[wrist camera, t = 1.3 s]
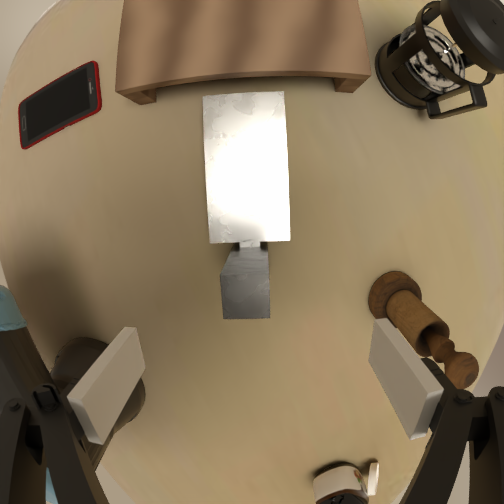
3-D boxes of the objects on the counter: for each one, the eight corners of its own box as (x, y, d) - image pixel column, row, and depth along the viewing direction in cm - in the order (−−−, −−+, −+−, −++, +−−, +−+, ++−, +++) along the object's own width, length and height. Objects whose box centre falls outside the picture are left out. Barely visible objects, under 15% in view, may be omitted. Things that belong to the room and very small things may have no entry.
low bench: (140, 105, 30) (115, 91, 24) (144, 22, 27) (124, -2, 21) (352, 92, 29) (371, 75, 22) (340, 8, 26) (352, -19, 20)
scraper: (217, 272, 34) (194, 319, 22) (208, 103, 30) (179, 65, 18) (288, 270, 34) (300, 316, 22) (282, 99, 29) (291, 57, 18)
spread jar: (305, 473, 43) (310, 523, 31) (358, 444, 41) (373, 496, 29) (339, 490, 44) (347, 533, 33) (386, 465, 42) (402, 509, 31)
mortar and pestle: (359, 289, 34) (428, 378, 17) (403, 261, 33) (496, 326, 16) (379, 329, 35) (442, 424, 18) (420, 303, 34) (501, 379, 17)
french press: (363, 36, 27) (454, -80, 4) (426, 39, 26) (534, -38, 4) (390, 125, 29) (542, 75, 7) (451, 122, 29) (596, 96, 6)
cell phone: (21, 104, 30) (17, 103, 29) (99, 60, 29) (95, 57, 28) (24, 151, 32) (20, 151, 31) (104, 111, 30) (100, 109, 29)
